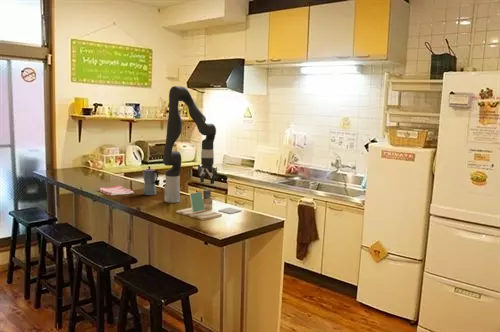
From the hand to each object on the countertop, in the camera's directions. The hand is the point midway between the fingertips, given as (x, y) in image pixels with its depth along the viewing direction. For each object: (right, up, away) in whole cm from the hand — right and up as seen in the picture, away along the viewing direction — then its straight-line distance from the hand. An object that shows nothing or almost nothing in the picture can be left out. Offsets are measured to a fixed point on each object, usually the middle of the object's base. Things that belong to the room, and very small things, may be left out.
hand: (207, 183), depth 256 cm
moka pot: (-44, -10, +40) cm, 60 cm away
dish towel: (-70, -9, +45) cm, 84 cm away
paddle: (-1, -16, +2) cm, 17 cm away
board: (-4, -18, -10) cm, 21 cm away
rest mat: (+14, -17, 0) cm, 22 cm away
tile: (-5, -11, -10) cm, 16 cm away
